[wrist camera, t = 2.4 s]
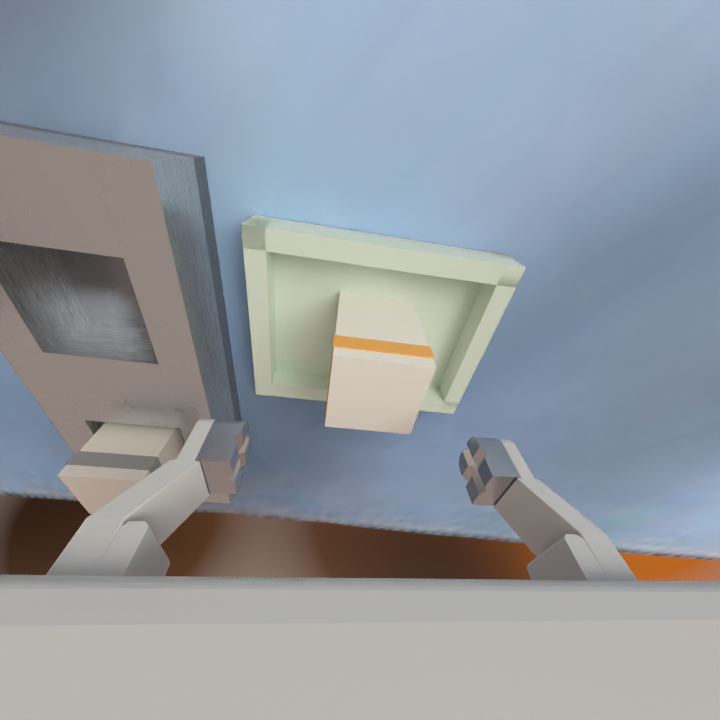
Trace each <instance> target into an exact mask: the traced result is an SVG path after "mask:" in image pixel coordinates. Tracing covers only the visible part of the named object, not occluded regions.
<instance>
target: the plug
mask: <svg viewBox="0 0 720 720" xmlns="http://www.w3.org/2000/svg"><path fill="white" fill-rule="evenodd" d="M435 369H436V366H435V363H434V355H433V352H432V350H431V347H430V346H428V344H427V341H426V338H425V335H424V333H423V330H422V327H421V324H420V322H419V319H418V316H417V313H416V311H415V308H414V305H413V302H412V301H409V300H402V299H395V298H387V297H380V296H373V295H365V294H358V293H351V292H343V291H340V296H339V305H338V314H337V322H336V331H335V335H334V340H333V349H332V357H331V366H330V375H329V384H328V393H327V402H326V411H325V417H326V420H325V427H336V428H347V429H358V430H369V431H380V432H391V433H402V434H411V431H412V428H413V426H414V423H415V421H416V418H417V416H418V413H419V410H420V408H421V405H422V403H423V400H424V398H425V395H426V393H427V390H428V387H429V385H430V382H431V380H432V377H433V375H434V372H435Z"/></svg>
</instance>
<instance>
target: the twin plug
mask: <svg viewBox="0 0 720 720" xmlns="http://www.w3.org/2000/svg"><path fill="white" fill-rule="evenodd" d="M184 444H185V441H184V438H183V435H182V432H181V429H180V428H169V427H157V426H145V425H133V424H122V423H110V422H105V423H104V424H103V425H102V427H101V428H100V429H99V430H98V431H97V432H96V433H95V434H94V435H93V436H92V438H91V439H90V440H89V441H88V442H87V443H86V444H85V445H84V446H83V447H82V449H81V450H80V451H77V452H76V453H75V454H74V455H73V456H72V457H71V458H70V460H69V461H68V462H67V463H66V466H65V467H64V468H63V469H62V471H61V472H60V473H59V474H58V477H59V478H60V479H61V480H62V481H63V483H64V484H65V485H66V486H67V487H68V488H69V490H70V491H71V492H72V493H73V494H74V496H75V497H76V498H77V499H78V500H79V502H80V503H81V504H82V505H83V506H84V507H85V509H86V510H87V511H88V512H89V513H90V514H93V513H94V512H96V511H97V510H99V509H100V508H102V507H103V506H105V505H106V504H107V503H109V502H110V501H112V500H113V499H115V498H116V497H117V496H119V495H120V494H122V493H123V492H125V491H126V490H128V489H129V488H130V487H132V486H133V485H135V484H136V483H138V482H139V481H141V480H142V479H143V478H145V477H146V476H148V475H149V474H151V473H152V472H154V471H155V470H156V469H158V468H159V467H161V466H162V465H164V464H165V463H167V462H168V461H169V460H171V459H172V460H176V458H177V457H178V455H179V453H180V451H181V449H182V448H183V446H184Z"/></svg>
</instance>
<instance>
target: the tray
mask: <svg viewBox="0 0 720 720" xmlns="http://www.w3.org/2000/svg"><path fill="white" fill-rule="evenodd" d="M241 231H242V243H243V254H244V265H245V276H246V288H247V299H248V310H249V321H250V333H251V344H252V355H253V366H254V378H255V389H256V394H257V395H267V396H277V397H287V398H297V399H308V400H318V401H327V393H328V384H329V375H330V366H331V357H332V349H333V340H334V335H335V331H336V322H337V314H338V305H339V296H340V291H343V292H351V293H358V294H365V295H373V296H380V297H387V298H395V299H402V300H409V301H412V302H413V305H414V308H415V311H416V313H417V316H418V319H419V322H420V324H421V327H422V330H423V333H424V335H425V338H426V341H427V344H428V346H430V347H431V350H432V352H433V355H434V363H435V366H436V369H435V372H434V375H433V377H432V380H431V382H430V385H429V387H428V390H427V393H426V395H425V398H424V400H423V403H422V405H421V408H420V410H419V411H430V412H440V413H450V414H454V412H455V410H456V408H457V406H458V404H459V402H460V400H461V398H462V396H463V394H464V392H465V390H466V388H467V386H468V384H469V382H470V380H471V378H472V376H473V374H474V372H475V370H476V368H477V366H478V364H479V362H480V360H481V358H482V356H483V354H484V352H485V350H486V348H487V346H488V344H489V341H490V339H491V337H492V335H493V333H494V331H495V329H496V327H497V325H498V323H499V321H500V319H501V317H502V315H503V313H504V311H505V309H506V307H507V305H508V303H509V301H510V299H511V297H512V295H513V293H514V291H515V289H516V287H517V285H518V283H519V281H520V279H521V277H522V275H523V273H524V271H525V269H526V267H524V266H523V265H521V264H520V263H519V262H517V261H516V260H514V259H513V258H512V257H510V256H509V255H505V254H499V253H492V252H486V251H480V250H473V249H467V248H461V247H454V246H448V245H442V244H435V243H429V242H423V241H416V240H410V239H404V238H397V237H391V236H385V235H378V234H372V233H366V232H359V231H353V230H346V229H340V228H334V227H327V226H321V225H315V224H308V223H302V222H296V221H289V220H283V219H277V218H270V217H264V216H258V215H253V216H252V217H250V218H249V219H247V220H246V221H244V222H243V223H241Z"/></svg>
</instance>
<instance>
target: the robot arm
mask: <svg viewBox="0 0 720 720" xmlns="http://www.w3.org/2000/svg"><path fill="white" fill-rule="evenodd" d="M248 430H249V427H248V422H242V421H231V420H221V419H209V418H200V419H199V420H198V421H197V422H196V424H195V426H194V428H193V430H192V431H191V433H190V435H189V437H188V439H187V440H186V442H185V444H184V446H183V448H182V449H181V451H180V453H179V455H178V457H177V458H176V460H172V459H171V460H169V461H168V462H167V463H165V464H164V465H162V466H161V467H159V468H158V469H156V470H155V471H154V472H152V473H151V474H149V475H148V476H146V477H145V478H143V479H142V480H141V481H139V482H138V483H136V484H135V485H133V486H132V487H130V488H129V489H128V490H126V491H125V492H123V493H122V494H120V495H119V496H117V497H116V498H115V499H113V500H112V501H110V502H109V503H107V504H106V505H105V506H103V507H102V508H100V509H99V510H97V511H96V512H94V513H93V514H92V515H90V516H89V517H87V518H86V520H85V521H84V522H83V524H82V525H81V527H80V528H79V529H78V531H77V532H76V533H75V535H74V536H73V538H72V539H71V541H70V542H69V543H68V545H67V546H66V548H65V549H64V551H63V552H62V553H61V555H60V556H59V557H58V559H57V560H56V562H55V563H54V564H53V566H52V567H51V569H50V570H49V571H48V573H47V574H46V575H0V720H720V582H687V581H684V582H682V581H637V579H636V578H635V576H634V575H633V573H632V572H631V570H630V569H629V567H628V566H627V564H626V563H625V562H624V560H623V558H622V557H621V555H620V554H619V552H618V551H617V549H616V548H615V546H614V545H613V543H612V542H611V540H610V539H609V537H608V536H607V535H606V534H605V533H604V532H603V531H602V530H600V529H599V528H598V527H597V526H595V525H594V524H593V523H592V522H591V521H589V520H588V519H587V518H586V517H584V516H583V515H582V514H581V513H579V512H578V511H577V510H576V509H575V508H573V507H572V506H571V505H570V504H568V503H567V502H566V501H565V500H564V499H562V498H561V497H560V496H559V495H557V494H556V493H555V492H554V491H552V490H551V489H550V488H549V487H548V486H546V485H545V484H544V483H543V482H541V481H540V480H539V479H535V478H534V476H533V475H532V473H531V471H530V470H529V468H528V466H527V464H526V463H525V461H524V459H523V457H522V456H521V454H520V452H519V450H518V449H517V447H516V445H515V443H514V442H513V441H511V440H505V439H494V438H476V437H472V438H470V439H469V440H468V442H467V445H468V448H466V449H465V450H463V451H462V453H461V455H460V458H459V467H460V471H461V474H462V476H463V477H464V478H465V479H466V480H467V481H468V482H467V485H466V488H467V491H468V494H469V497H470V499H471V502H472V504H477V505H491V506H494V508H495V509H496V510H497V511H498V512H499V514H500V515H501V516H502V517H503V518H504V519H505V520H506V522H507V523H508V524H509V525H510V526H511V527H512V529H513V530H514V531H515V532H516V533H517V534H518V536H519V537H520V538H521V539H522V540H523V541H524V543H525V544H526V545H527V546H528V547H529V548H530V549H531V551H532V552H533V553H534V554H535V555H536V558H535V559H534V560H533V561H531V562H530V563H529V564H528V566H527V570H528V572H529V575H530V577H531V580H488V579H486V580H485V579H484V580H483V579H389V578H382V579H381V578H288V577H286V578H285V577H280V578H279V577H185V576H183V577H179V576H165V574H166V572H167V569H168V567H169V565H170V561H169V559H168V557H167V555H166V554H165V552H164V550H163V549H162V547H161V546H160V545H161V544H162V543H163V541H165V540H166V539H167V538H168V537H169V536H170V535H171V534H172V533H173V532H174V531H175V530H176V529H177V528H178V527H179V526H180V525H181V524H182V523H183V522H184V521H185V520H186V519H187V518H188V517H189V516H190V514H192V513H193V512H194V511H195V510H196V509H197V508H198V507H199V506H200V505H201V504H202V503H203V502H204V500H205V499H206V498H207V497H208V496H209V494H237V491H238V488H239V485H240V482H241V478H242V470H241V468H242V467H243V466H244V465H246V463H247V460H248V456H249V451H250V437H249V436H248V435H247V433H248Z"/></svg>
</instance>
